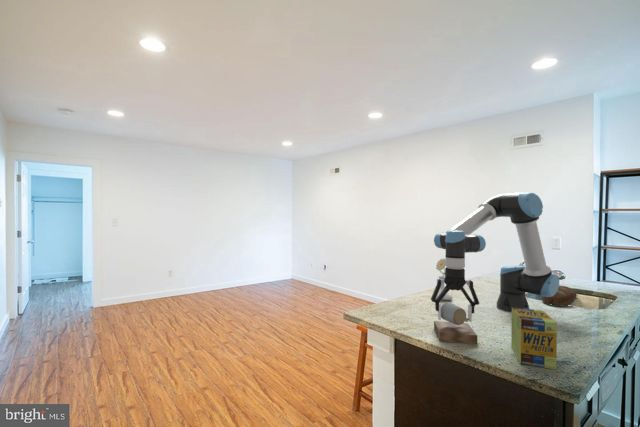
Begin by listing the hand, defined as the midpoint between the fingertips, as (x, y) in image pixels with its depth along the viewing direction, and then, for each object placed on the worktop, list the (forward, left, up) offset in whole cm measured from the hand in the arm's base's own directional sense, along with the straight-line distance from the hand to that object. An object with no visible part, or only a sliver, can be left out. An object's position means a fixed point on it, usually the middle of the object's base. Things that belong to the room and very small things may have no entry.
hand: (454, 319), depth 132 cm
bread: (-75, -73, -7) cm, 105 cm away
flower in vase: (-6, -59, -7) cm, 60 cm away
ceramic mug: (0, -1, -1) cm, 2 cm away
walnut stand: (0, 0, -7) cm, 7 cm away
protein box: (-23, +15, -7) cm, 28 cm away
